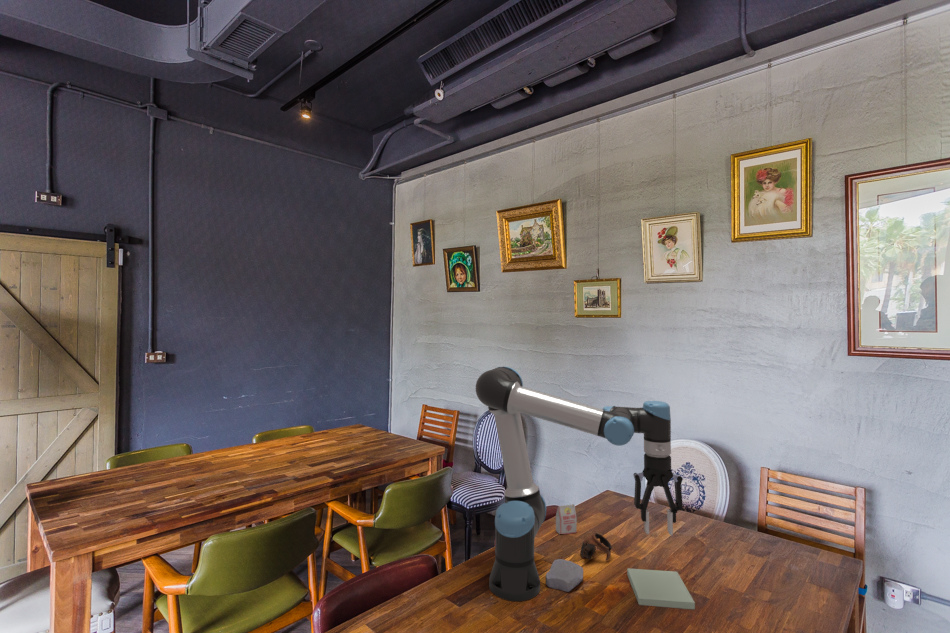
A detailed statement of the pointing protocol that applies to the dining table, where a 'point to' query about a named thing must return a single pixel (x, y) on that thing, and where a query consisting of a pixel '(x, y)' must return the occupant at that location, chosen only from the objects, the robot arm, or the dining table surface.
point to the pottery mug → (592, 541)
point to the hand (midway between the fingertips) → (658, 532)
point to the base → (660, 589)
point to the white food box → (566, 519)
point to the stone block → (564, 575)
